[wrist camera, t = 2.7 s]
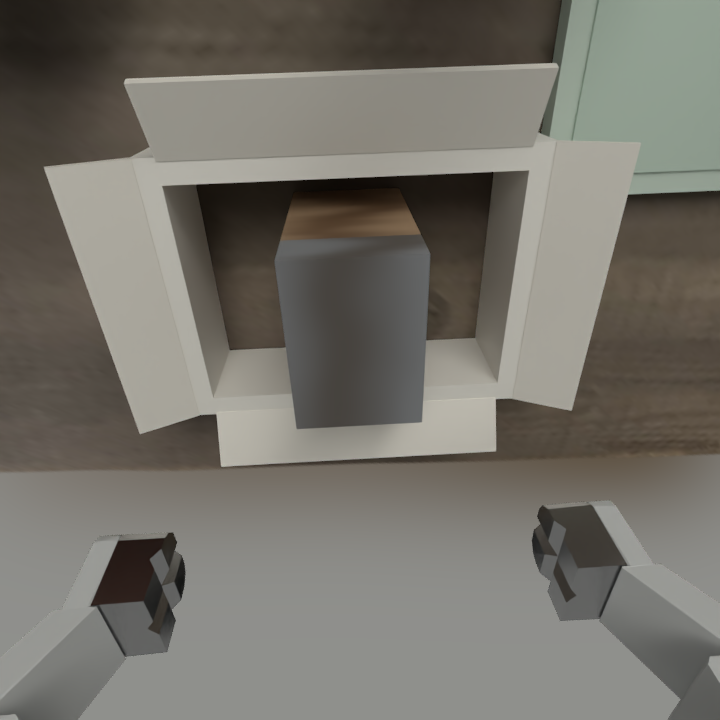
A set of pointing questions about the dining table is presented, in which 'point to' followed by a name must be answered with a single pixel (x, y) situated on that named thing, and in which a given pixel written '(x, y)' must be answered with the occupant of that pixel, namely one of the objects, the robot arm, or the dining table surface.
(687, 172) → the plate
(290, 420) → the carton
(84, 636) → the robot arm
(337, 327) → the grey brown rectangular block
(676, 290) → the dining table surface
